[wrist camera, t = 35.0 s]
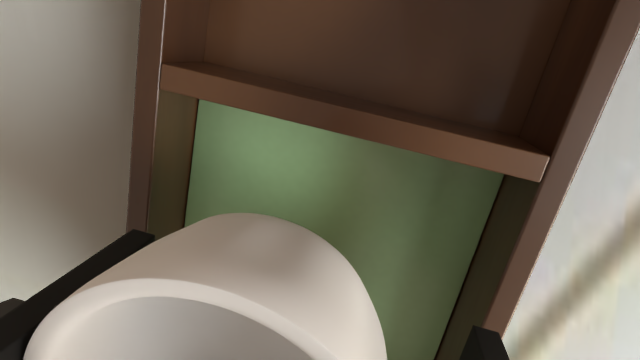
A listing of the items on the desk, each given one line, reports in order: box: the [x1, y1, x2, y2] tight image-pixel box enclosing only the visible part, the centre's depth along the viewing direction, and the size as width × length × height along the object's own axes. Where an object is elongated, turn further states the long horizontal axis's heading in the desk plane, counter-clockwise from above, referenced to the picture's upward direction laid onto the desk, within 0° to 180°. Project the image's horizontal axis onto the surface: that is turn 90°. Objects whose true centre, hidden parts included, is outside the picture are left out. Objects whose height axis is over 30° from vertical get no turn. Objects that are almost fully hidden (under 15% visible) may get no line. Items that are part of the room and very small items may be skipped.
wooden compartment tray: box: [126, 0, 640, 360], centre depth 13 cm, size 13×25×4 cm, turn 168°
